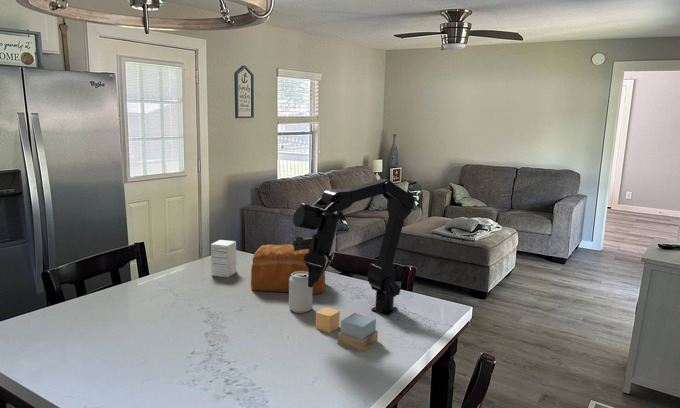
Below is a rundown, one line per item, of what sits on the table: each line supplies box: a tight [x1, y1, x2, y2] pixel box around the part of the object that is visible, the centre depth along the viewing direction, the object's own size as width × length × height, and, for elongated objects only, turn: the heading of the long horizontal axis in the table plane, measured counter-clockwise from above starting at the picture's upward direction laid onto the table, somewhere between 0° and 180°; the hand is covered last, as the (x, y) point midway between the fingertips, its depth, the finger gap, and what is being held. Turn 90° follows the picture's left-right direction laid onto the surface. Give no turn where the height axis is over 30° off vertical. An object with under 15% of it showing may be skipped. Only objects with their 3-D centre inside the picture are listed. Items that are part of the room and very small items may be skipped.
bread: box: [250, 243, 326, 294], centre depth 180 cm, size 14×26×16 cm, turn 86°
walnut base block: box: [337, 329, 379, 352], centre depth 138 cm, size 8×8×4 cm
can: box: [288, 271, 313, 314], centre depth 160 cm, size 8×8×12 cm
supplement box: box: [210, 239, 238, 278], centre depth 193 cm, size 7×7×13 cm
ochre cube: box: [315, 307, 341, 334], centre depth 147 cm, size 5×5×5 cm
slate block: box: [340, 312, 377, 339], centre depth 137 cm, size 7×7×4 cm
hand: (312, 284), depth 145 cm, fingers open, 9 cm apart
